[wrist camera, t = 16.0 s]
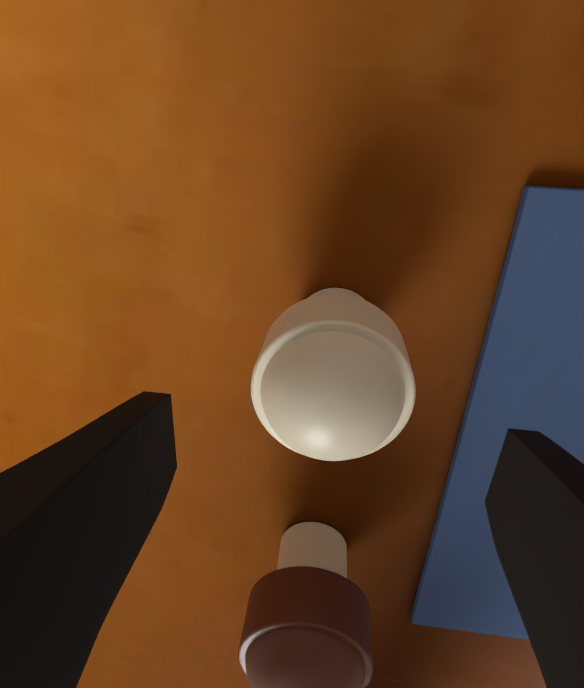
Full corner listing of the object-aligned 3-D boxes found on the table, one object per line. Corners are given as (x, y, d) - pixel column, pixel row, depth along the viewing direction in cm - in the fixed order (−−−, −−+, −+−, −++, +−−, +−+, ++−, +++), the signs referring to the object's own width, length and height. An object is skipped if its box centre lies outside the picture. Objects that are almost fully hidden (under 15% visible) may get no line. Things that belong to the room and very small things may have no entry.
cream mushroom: (387, 383, 16) (408, 509, 11) (273, 372, 16) (238, 489, 11) (405, 271, 14) (442, 356, 9) (276, 262, 14) (237, 338, 9)
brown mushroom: (360, 586, 21) (366, 772, 15) (260, 573, 21) (227, 749, 15) (373, 513, 19) (386, 694, 13) (262, 500, 19) (224, 670, 13)
